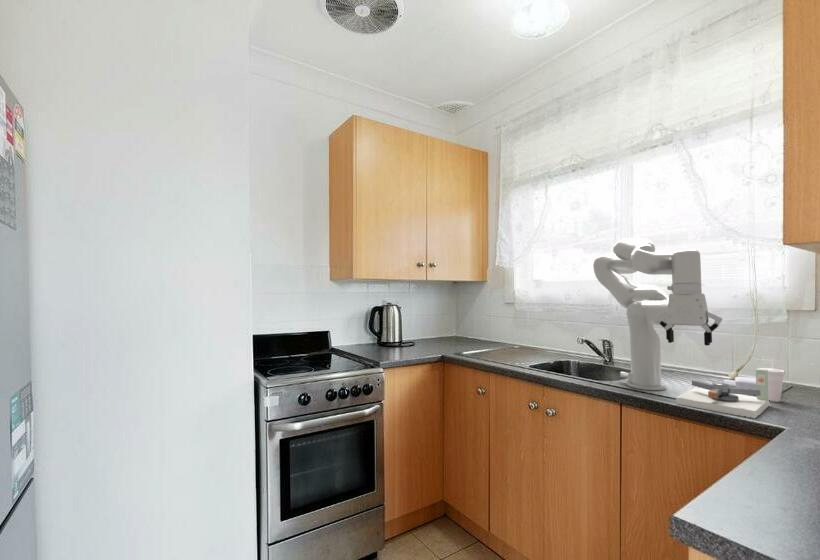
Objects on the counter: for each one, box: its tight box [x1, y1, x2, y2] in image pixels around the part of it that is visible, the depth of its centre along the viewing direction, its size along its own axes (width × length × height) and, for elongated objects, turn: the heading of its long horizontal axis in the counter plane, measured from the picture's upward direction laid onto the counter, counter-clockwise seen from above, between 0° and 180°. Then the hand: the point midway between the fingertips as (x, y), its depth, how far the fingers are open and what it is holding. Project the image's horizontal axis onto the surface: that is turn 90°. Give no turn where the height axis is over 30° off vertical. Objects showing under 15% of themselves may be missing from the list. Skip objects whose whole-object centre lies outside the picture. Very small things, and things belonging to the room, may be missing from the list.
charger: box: [716, 375, 756, 389], centre depth 137 cm, size 5×9×15 cm
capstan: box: [691, 379, 761, 401], centre depth 120 cm, size 17×15×4 cm
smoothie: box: [759, 355, 786, 403], centre depth 126 cm, size 6×6×14 cm
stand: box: [675, 367, 770, 419], centre depth 122 cm, size 19×19×11 cm
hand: (688, 343), depth 123 cm, fingers open, 9 cm apart
